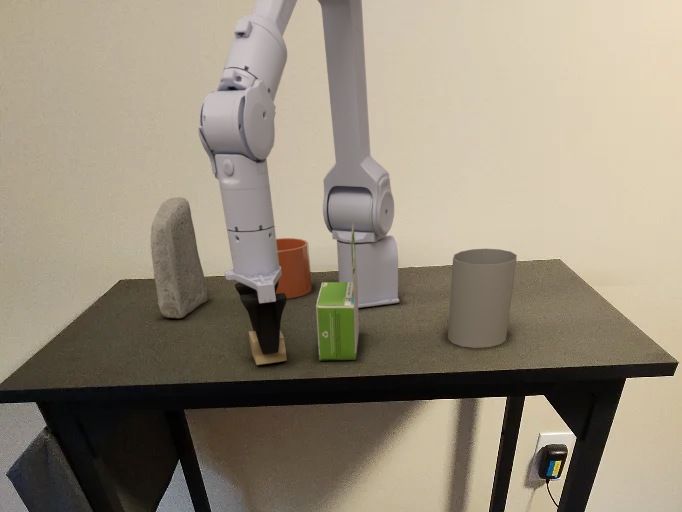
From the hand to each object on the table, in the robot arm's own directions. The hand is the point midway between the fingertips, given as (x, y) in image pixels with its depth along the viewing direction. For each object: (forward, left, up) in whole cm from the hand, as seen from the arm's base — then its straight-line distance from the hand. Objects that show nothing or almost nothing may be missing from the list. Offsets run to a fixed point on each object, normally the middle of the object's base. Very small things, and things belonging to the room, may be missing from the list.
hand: (267, 346), depth 80 cm
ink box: (-10, -1, -2) cm, 11 cm away
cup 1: (-8, -32, -2) cm, 33 cm away
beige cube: (0, 0, -1) cm, 1 cm away
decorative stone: (+10, -28, -2) cm, 30 cm away
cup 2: (-30, +2, -2) cm, 30 cm away
